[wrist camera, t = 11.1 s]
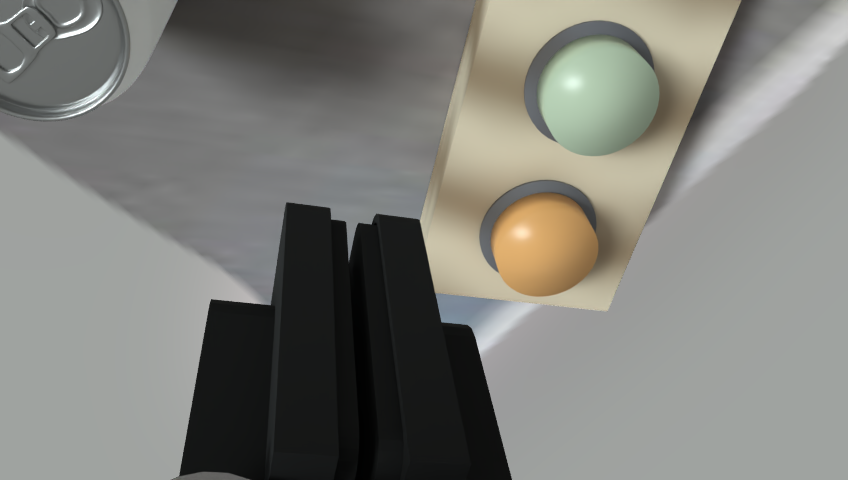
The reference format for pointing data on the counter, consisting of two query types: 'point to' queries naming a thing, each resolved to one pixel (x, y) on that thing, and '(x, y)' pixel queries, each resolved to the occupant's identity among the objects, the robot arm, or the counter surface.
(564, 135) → the sage button
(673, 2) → the button panel
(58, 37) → the can
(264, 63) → the counter surface
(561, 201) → the orange button
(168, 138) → the counter surface
